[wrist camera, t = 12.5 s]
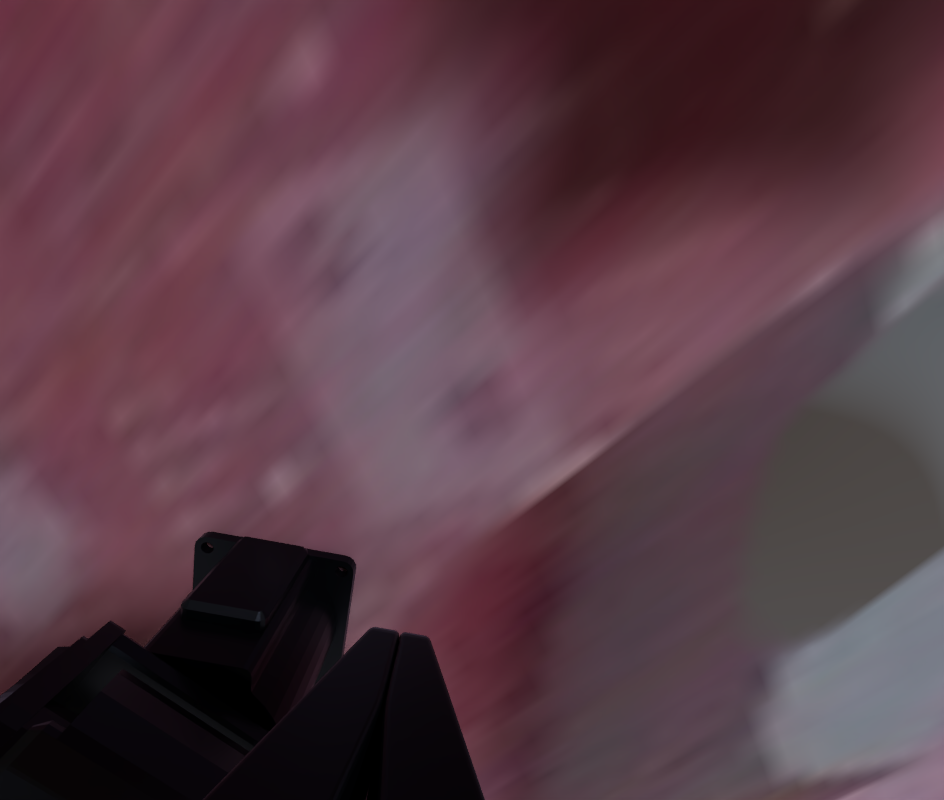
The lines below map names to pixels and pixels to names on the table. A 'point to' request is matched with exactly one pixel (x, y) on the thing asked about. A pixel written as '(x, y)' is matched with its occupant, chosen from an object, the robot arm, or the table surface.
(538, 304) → the table surface
